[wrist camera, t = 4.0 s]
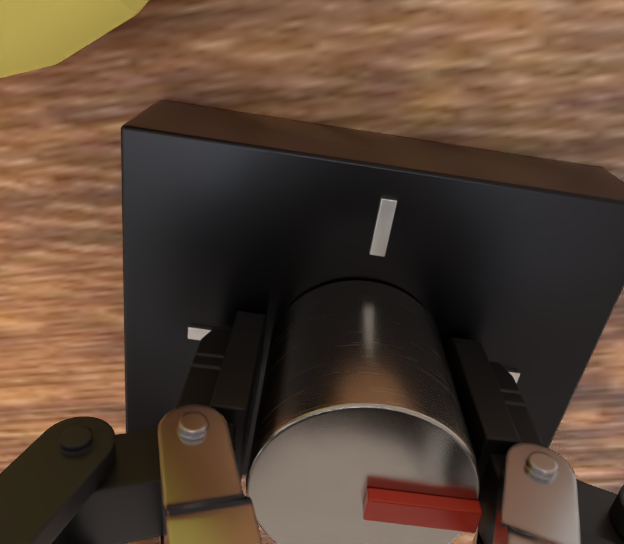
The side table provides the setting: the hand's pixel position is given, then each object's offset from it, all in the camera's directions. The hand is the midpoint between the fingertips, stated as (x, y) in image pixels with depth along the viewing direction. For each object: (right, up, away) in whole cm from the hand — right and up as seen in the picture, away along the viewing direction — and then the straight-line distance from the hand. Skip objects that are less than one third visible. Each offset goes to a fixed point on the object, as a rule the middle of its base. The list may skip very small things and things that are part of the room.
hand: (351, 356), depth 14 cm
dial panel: (0, +1, +3) cm, 3 cm away
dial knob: (0, 0, 0) cm, 0 cm away
